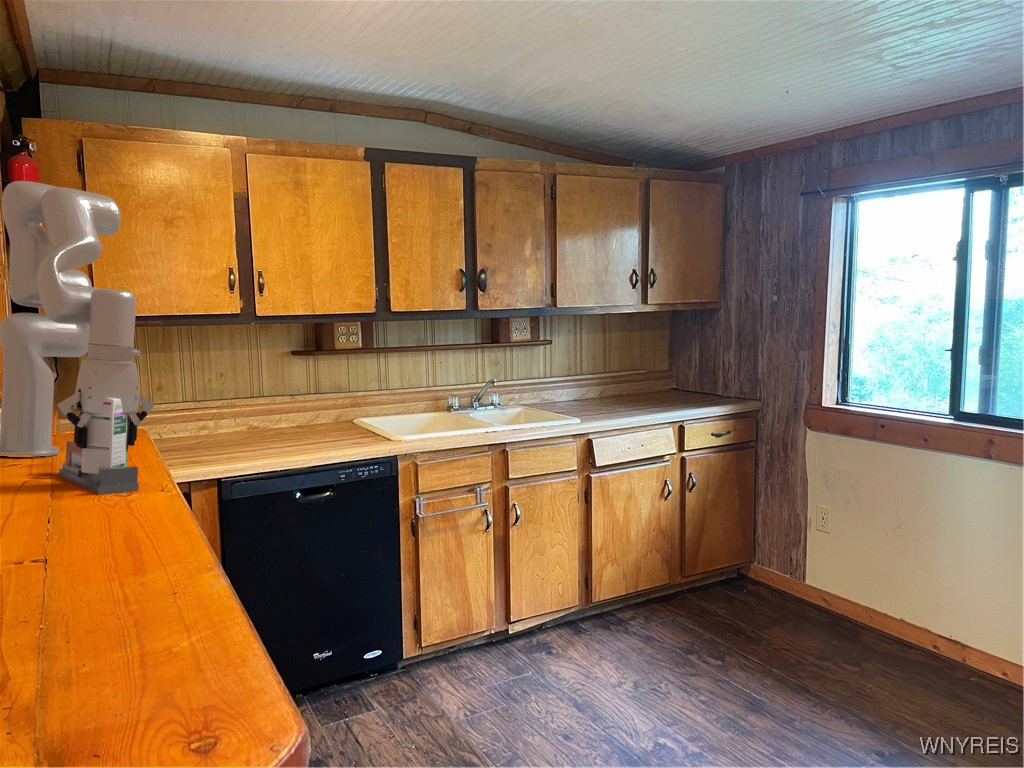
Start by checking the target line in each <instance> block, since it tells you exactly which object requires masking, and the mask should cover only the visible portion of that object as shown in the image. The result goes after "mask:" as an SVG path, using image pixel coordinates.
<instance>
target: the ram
mask: <svg viewBox="0 0 1024 768" xmlns="http://www.w3.org/2000/svg"><path fill="white" fill-rule="evenodd" d="M65 443H66V444H65V462H64V463H68V464H70V465H72V466H75V467H77V468H79V469H81V468H82V448H79V447H77V446H76V444H75V443H74V439H73V440H66V442H65Z"/></svg>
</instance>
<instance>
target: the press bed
mask: <svg viewBox="0 0 1024 768" xmlns="http://www.w3.org/2000/svg"><path fill="white" fill-rule="evenodd" d="M138 473H139V467H138V466H136V465H133V466H132V465H130V466H128V467H117V468H105V469H99V474H89V473H83V472H82V471H81V469H79V468H77V467H75V466H72V465H70V464H68V463H65V462H64V463H62V466H61V468H58V477H60V478H62V479H64V480H66V481H67V482H71V483H73V484H75V485H77V486H79V487H81V488H84V489H86V491H87V490H88V491H90V492H92V493H94V494H96V495H108V494H116V493H119V494H120V493H126V492H127V493H128V492H137V490H138V491H139V487H140V485H139V484H140V482H138Z"/></svg>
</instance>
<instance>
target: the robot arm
mask: <svg viewBox="0 0 1024 768" xmlns="http://www.w3.org/2000/svg"><path fill="white" fill-rule="evenodd" d="M1 212H2V217H3V222H4V224H5V228H6V231H7V235H8V238H9V278H8V280H9V284H8V285H9V295H10V298H11V300H12V301H13V303H15V304H17V305H20V306H24V307H31V308H40V309H43V311H44V313H36V312H35V313H34V312H16V313H11V314H8V315H6V316H5V317H4V318H3V319H2V321H1V322H0V347H1V354H2V355H1V356H2V390H1V412H0V455H17V456H18V455H33V456H45V457H52V456H56V455H58V454H59V452H60V449H59V447H58V446H56V445H55V446H54V445H52V433H53V432H52V429H53V412H54V411H53V410H54V391H55V376H54V373H53V371H52V369H51V368H50V367H49V366H48V364H47V363H46V362H45V361H44V359H43V358H46V357H49V358H51V357H53V358H54V357H56V358H58V357H60V358H79V357H83V356H84V355H87V359H86V360H85V359H83V360H81V363H80V367H79V370H78V375H77V378H76V385H75V393H74V394H72V395H70V396H69V397H67V398H65V399H64V400H62V401H61V402H59V403H57V408H58V409H59V411H60V412H61V413H62V414H63V415H64V417H65V418H66V419H67V420H68V421H69V422H70V423H71V425H73V426H74V432H73V440H74V443H75V444H76V446H77V447H79V448H82V449H85V448H87V435H88V428H87V427H85V424H86V423H87V421H88V420H89V419H90V417H91V416H92V415H98V414H100V413H101V411H102V407H103V402H104V400H105V398H115V399H121V404H122V410H123V413H125V414H128V416H129V418H130V421H129V443H128V446H131V447H134V446H135V443H136V441H137V437H138V426H139V425H140V424H141V422H142V421H143V420H144V419H145V418H147V416H148V414H149V413H150V412H151V411H152V409H153V408H154V406H155V404H154V402H152V401H150V400H149V399H147V397H145V396H143V395H142V394H140V382H139V373H138V367H137V363H136V362H134V360H135V358H136V357H139V358H140V357H141V353H142V352H141V350H140V349H136V348H135V328H136V327H135V326H136V313H137V312H136V311H137V298H136V295H135V294H134V293H133V292H131V291H127V290H123V289H121V290H120V289H112V288H105V287H104V288H103V287H102V288H101V287H95V286H92V282H91V279H90V278H89V276H88V274H86V273H85V272H83V271H80V270H78V268H82V267H85V266H88V265H91V264H92V263H94V262H96V261H97V260H98V259H99V258H100V257H101V254H102V251H103V246H102V243H101V240H100V238H99V235H101V236H113V235H115V234H116V232H118V230H119V229H120V226H121V222H122V215H121V210H120V208H119V206H118V204H117V203H116V201H115V200H114V198H111V197H110V196H107V195H104V194H100V193H95V192H90V191H85V190H82V189H81V190H80V189H76V188H71V187H64V186H63V187H61V186H55V185H51V184H47V183H42V182H36V181H28V180H27V181H26V180H17V181H12V182H10V183H8V184H7V185H6V186H5V188H4V189H3V192H2V198H1ZM42 224H44V225H45V226H46V228H47V229H46V228H45V227H44V226H43V225H42ZM73 405H74V409H75V410H76V411H77V412H78V413H77V414H76V413H74V411H73V410H72V408H71V407H72V406H73ZM140 405H142V407H141V409H140V410H139V407H140Z"/></svg>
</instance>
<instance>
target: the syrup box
mask: <svg viewBox="0 0 1024 768" xmlns="http://www.w3.org/2000/svg"><path fill="white" fill-rule="evenodd" d="M129 421H130V418H129V416H128V414H125V413H123V410H122V404H121V399H115V398H105V400H104V402H103V407H102V411H101V413H100V414H98V415H92V416H91V417H90V419H89V420H88V421H87V423H86V424H85V427H87V428H88V435H87V448H85V449H82V468H81V471H82V472H83V473H89V474H99V469H105V468H117V467H129V466H128V465H129V464H128V463H129V445H128V443H129Z"/></svg>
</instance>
